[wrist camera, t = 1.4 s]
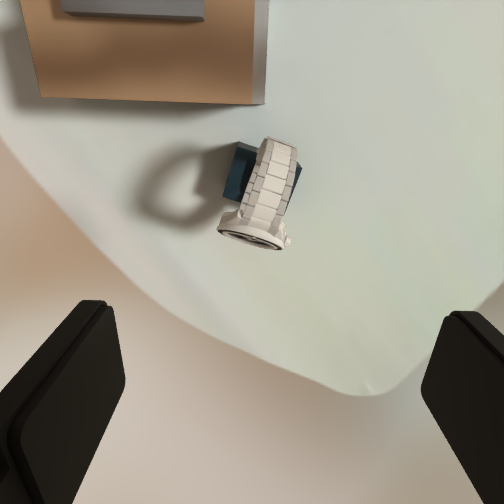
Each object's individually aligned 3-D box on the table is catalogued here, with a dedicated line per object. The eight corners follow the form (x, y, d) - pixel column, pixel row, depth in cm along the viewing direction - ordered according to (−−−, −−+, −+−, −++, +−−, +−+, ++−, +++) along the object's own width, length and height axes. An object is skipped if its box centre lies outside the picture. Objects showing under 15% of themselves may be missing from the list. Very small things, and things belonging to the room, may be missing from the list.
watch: (219, 206, 31) (203, 257, 21) (245, 121, 27) (240, 131, 18) (274, 224, 31) (284, 281, 21) (305, 142, 28) (334, 165, 18)
